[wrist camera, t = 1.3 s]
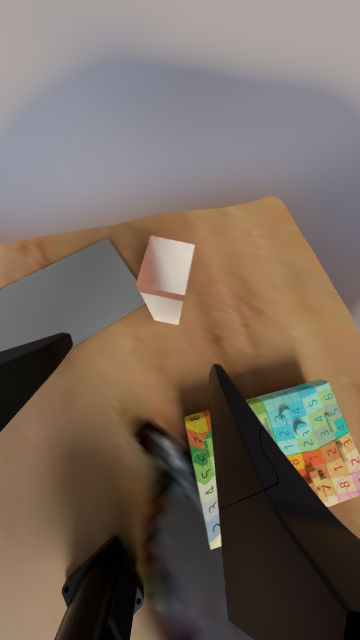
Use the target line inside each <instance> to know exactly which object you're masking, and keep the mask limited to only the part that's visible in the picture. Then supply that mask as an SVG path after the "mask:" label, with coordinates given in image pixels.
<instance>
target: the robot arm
mask: <svg viewBox="0 0 360 640" xmlns="http://www.w3.org/2000/svg"><path fill="white" fill-rule="evenodd" d="M72 347H73V341H72V337H71V335H70V334H69V333H65V332H61V333H58V334H55V335H51V336H48V337H45V338H42V339H39V340H35V341H32V342H29V343H26V344H23V345H20V346H16V347H13V348H10V349H7V350H4V351H0V432H1V431H2V430H3V428H4V427H5V426H6V425H7V424H8V423H9V422H10V421H11V419H12V418H13V417H14V416H15V415H16V414H17V413H18V412H19V410H20V409H21V408H22V407H23V406H24V405H25V404H26V403H27V401H28V400H29V399H30V398H31V397H32V396H33V395H34V394H35V392H36V391H37V390H38V389H39V388H40V387H41V386H42V385H43V383H44V382H45V381H46V380H47V379H48V378H49V377H50V376H51V374H52V373H53V372H54V371H55V370H56V369H57V367H58V366H59V365H60V363H61V362H62V361H63V359H64V358H65V356H66V355H67V354H68V352H69V351H70V350H71V348H72ZM209 409H210V420H211V432H212V443H213V454H214V465H215V476H216V488H217V499H218V509H219V522H220V534H221V545H222V556H223V567H224V579H225V590H226V601H227V612H228V620H229V622H230V623H231V624H233V625H234V626H235V627H237V628H238V629H239V630H241V631H242V632H244V633H245V634H246V635H248V636H249V637H250V638H252V639H253V640H360V539H359V538H358V537H357V536H355V535H354V534H353V533H352V532H351V531H350V530H349V529H348V528H347V527H345V526H344V525H343V524H342V523H341V522H340V521H339V520H338V519H337V518H336V517H335V516H334V514H333V513H332V512H331V511H330V510H329V509H328V508H327V507H326V505H325V504H324V503H323V502H322V501H321V499H320V498H319V497H318V496H317V494H316V493H315V492H314V491H313V489H312V488H311V487H310V486H309V484H308V483H307V482H306V481H305V479H304V478H303V477H302V476H301V474H300V473H299V472H298V471H297V469H296V468H295V467H294V466H293V464H292V463H291V462H290V461H289V459H288V458H287V457H286V455H285V454H284V453H283V452H282V450H281V449H280V448H279V446H278V445H277V444H276V442H275V441H274V440H273V438H272V437H271V435H270V434H269V433H268V431H267V430H266V428H265V427H264V426H263V424H261V421H260V420H259V419H258V417H257V416H256V414H255V413H254V412H253V410H252V409H251V407H250V406H249V404H248V403H247V402H246V400H245V399H244V397H243V396H242V395H241V393H240V392H239V390H238V389H237V387H236V386H235V385H234V383H233V382H232V380H231V379H230V377H229V376H228V375H227V373H226V372H225V370H224V369H223V368H222V366H221V365H219V364H213V366H212V368H211V371H210V374H209ZM113 543H114V544H115V545H114V544H113ZM62 595H63V597H64V600H65V602H66V605H67V610H66V612H65V615H64V617H63V619H62V622H61V624H60V627H59V629H58V632H57V634H56V636H55V639H54V640H130V635H131V628H132V621H133V615H134V614H135V613H136V611H137V610H138V609H139V608H140V607H141V606H142V604H143V600H144V591H143V589H142V587H141V585H140V583H139V580H138V578H137V576H136V574H135V572H134V569H133V567H132V565H131V563H130V561H129V559H128V557H127V555H126V553H125V551H124V549H123V546H122V544H121V542H120V540H119V538H118V537H117V536H114V537H112V538H111V539H110V540H109V541H108V542H107V543H106V544H105V545H104V546H103V547H101V548H100V549H99V550H98V551H97V552H96V553H95V554H94V555H93V556H92V557H90V558H89V559H88V560H87V561H86V562H85V563H84V564H83V565H82V566H81V567H79V568H78V569H77V570H76V571H75V572H74V573H73V574H72V575H71V576H70V577H69V578H67V580H66V581H65V583H64V585H63V588H62Z"/></svg>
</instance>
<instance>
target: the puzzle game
mask: <svg viewBox="0 0 360 640" xmlns="http://www.w3.org/2000/svg"><path fill="white" fill-rule="evenodd" d="M246 402H247V403H248V404H249V406H250V407H251V409H252V410H253V412H254V413H255V414H256V416H257V417H258V419H259V420H260V421H261V424H263V426H264V427H265V428H266V430H267V431H268V433H269V434H270V435H271V437H272V438H273V440H274V441H275V442H276V444H277V445H278V446H279V448H280V449H281V450H282V452H283V453H284V454H285V455H286V457H287V458H288V459H289V461H290V462H291V463H292V464H293V466H294V467H295V468H296V469H297V471H298V472H299V473H300V474H301V476H302V477H303V478H304V479H305V481H306V482H307V483H308V484H309V486H310V487H311V488H312V489H313V491H314V492H315V493H316V494H317V496H318V497H319V498H320V499H321V501H322V502H323V503H324V504H325V505H326V507H329V506H332V505H334V504H337V503H340V502H343V501H345V500H348V499H351V498H354V497H356V496H359V495H360V454H359V452H358V449H357V447H356V445H355V442H354V440H353V438H352V435H351V433H350V431H349V428H348V426H347V424H346V421H345V419H344V417H343V414H342V412H341V410H340V407H339V405H338V403H337V400H336V398H335V396H334V393H333V391H332V389H331V386H330V384H329V381H324V380H316V381H313V382H309V383H305V384H302V385H298V386H294V387H291V388H287V389H283V390H280V391H276V392H273V393H269V394H265V395H262V396H258V397H254V398H251V399H247V400H246ZM184 422H185V427H186V432H187V437H188V442H189V447H190V452H191V457H192V462H193V467H194V472H195V477H196V482H197V487H198V492H199V497H200V502H201V507H202V512H203V517H204V522H205V527H206V532H207V537H208V542H209V547H210V550H211V549H214V548H217V547H219V546H222V545H221V534H220V522H219V509H218V499H217V488H216V476H215V465H214V454H213V443H212V432H211V420H210V410H207V411H204V412H200V413H196V414H193V415H189V416H186V417H184Z"/></svg>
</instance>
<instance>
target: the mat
mask: <svg viewBox="0 0 360 640" xmlns="http://www.w3.org/2000/svg"><path fill="white" fill-rule="evenodd" d="M136 282H137V280H136V279H135V277H134V276H133V274H132V273H131V271H130V270H129V269H128V267H127V266H126V264H125V263H124V261H123V260H122V258H121V257H120V255H119V254H118V252H117V251H116V250H115V248H114V247H113V245H112V244H111V242H110V241H109V239H108V238H106V239H104V240H102V241H100V242H97V243H95V244H93V245H91V246H89V247H87V248H85V249H83V250H81V251H79V252H77V253H75V254H72V255H70V256H68V257H66V258H64V259H62V260H60V261H58V262H56V263H54V264H52V265H50V266H47V267H45V268H43V269H41V270H39V271H37V272H35V273H33V274H31V275H29V276H27V277H25V278H22V279H20V280H18V281H16V282H14V283H12V284H10V285H8V286H6V287H4V288H2V289H0V351H4V350H7V349H10V348H13V347H16V346H20V345H23V344H26V343H29V342H32V341H35V340H39V339H42V338H45V337H48V336H51V335H55V334H58V333H61V332H65V333H69V334H70V335H71V337H72V341H73V347H74V346H76V345H78V344H79V343H81V342H83V341H84V340H86V339H88V338H89V337H91V336H92V335H94V334H96V333H97V332H99V331H101V330H102V329H104V328H106V327H107V326H109V325H111V324H112V323H114V322H116V321H117V320H119V319H121V318H122V317H124V316H125V315H127V314H129V313H130V312H132V311H134V310H135V309H137V308H139V307H140V306H142V305H144V304H145V301H144V299H143V297H142V295H141V293H140V292H139V291H138V289H137V288H136ZM73 347H72V348H73Z"/></svg>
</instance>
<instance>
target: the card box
mask: <svg viewBox="0 0 360 640" xmlns="http://www.w3.org/2000/svg"><path fill="white" fill-rule="evenodd" d="M194 249H195V244H191V243H186V242H181V241H176V240H171V239H167V238H162V237H157V236H152V235H151V236H150V240H149V243H148V246H147V249H146V253H145V256H144V259H143V263H142V266H141V269H140V273H139V276H138V279H137V282H136V288H137V289H138V291H139V292H140V293H141V295H142V297H143V299H144V301H145V303H146V305H147V307H148V309H149V311H150V312H151V314H152V316H153V318H154V320H156V321H161V322H166V323H171V324H176V325H178V324H179V319H180V314H181V310H182V305H183V301H184V298H185V294H186V289H187V284H188V279H189V274H190V269H191V264H192V259H193V254H194Z"/></svg>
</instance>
